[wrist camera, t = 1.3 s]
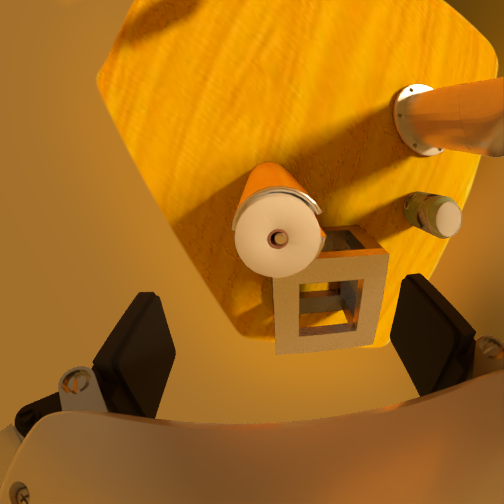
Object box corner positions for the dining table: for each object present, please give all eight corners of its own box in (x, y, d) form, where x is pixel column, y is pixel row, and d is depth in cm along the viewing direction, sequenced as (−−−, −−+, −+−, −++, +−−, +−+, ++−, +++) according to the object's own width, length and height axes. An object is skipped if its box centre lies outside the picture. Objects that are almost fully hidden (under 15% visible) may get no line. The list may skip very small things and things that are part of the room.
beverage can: (414, 230, 42) (450, 257, 31) (390, 203, 41) (427, 225, 30) (434, 205, 40) (474, 225, 29) (412, 176, 39) (453, 190, 28)
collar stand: (359, 225, 42) (389, 253, 31) (352, 302, 48) (372, 344, 37) (269, 230, 43) (271, 261, 32) (273, 309, 49) (275, 354, 38)
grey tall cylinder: (282, 209, 42) (308, 294, 19) (242, 196, 41) (218, 268, 18) (296, 169, 39) (345, 208, 16) (255, 156, 39) (246, 174, 16)
